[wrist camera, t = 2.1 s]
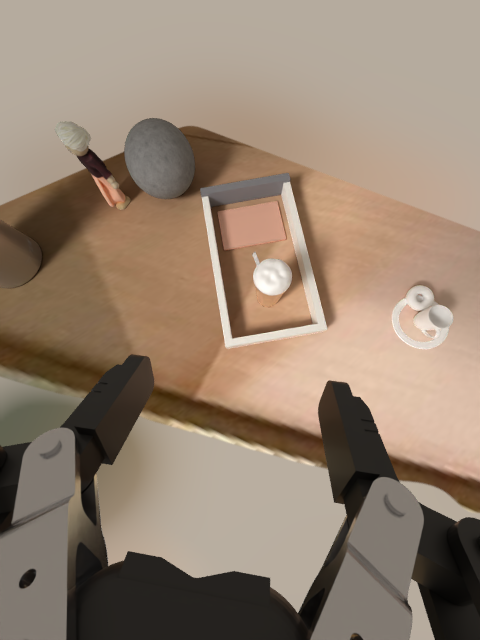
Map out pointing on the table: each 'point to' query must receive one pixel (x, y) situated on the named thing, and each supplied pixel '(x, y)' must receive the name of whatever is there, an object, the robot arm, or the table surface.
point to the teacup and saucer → (424, 317)
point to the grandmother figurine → (91, 162)
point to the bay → (258, 229)
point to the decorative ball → (159, 158)
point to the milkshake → (271, 280)
